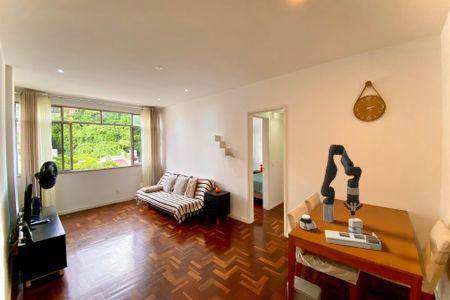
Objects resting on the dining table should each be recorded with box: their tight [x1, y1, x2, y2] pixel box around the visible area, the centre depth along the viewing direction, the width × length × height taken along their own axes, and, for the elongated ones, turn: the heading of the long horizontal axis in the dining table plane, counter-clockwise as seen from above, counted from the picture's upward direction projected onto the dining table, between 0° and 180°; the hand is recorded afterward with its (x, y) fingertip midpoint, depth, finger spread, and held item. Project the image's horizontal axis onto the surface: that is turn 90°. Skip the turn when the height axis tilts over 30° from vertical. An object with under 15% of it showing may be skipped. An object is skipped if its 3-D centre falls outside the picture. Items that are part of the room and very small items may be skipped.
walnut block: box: [365, 234, 379, 244], centre depth 142 cm, size 6×6×4 cm
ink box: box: [348, 217, 363, 235], centre depth 160 cm, size 9×5×12 cm, turn 92°
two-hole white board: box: [324, 229, 382, 251], centre depth 150 cm, size 16×34×6 cm, turn 67°
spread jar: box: [299, 214, 317, 231], centre depth 173 cm, size 12×11×12 cm
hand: (352, 215), depth 146 cm, fingers closed
